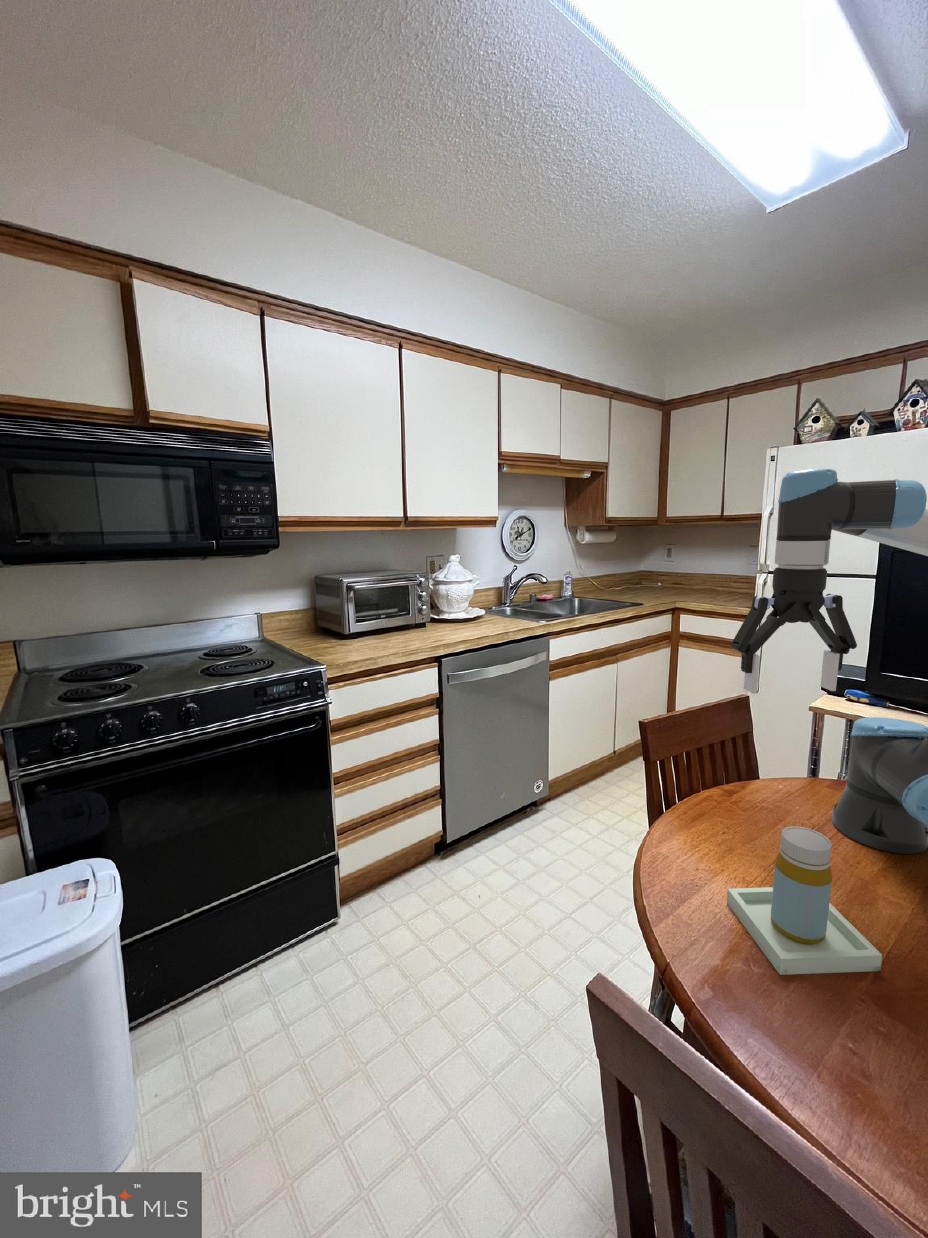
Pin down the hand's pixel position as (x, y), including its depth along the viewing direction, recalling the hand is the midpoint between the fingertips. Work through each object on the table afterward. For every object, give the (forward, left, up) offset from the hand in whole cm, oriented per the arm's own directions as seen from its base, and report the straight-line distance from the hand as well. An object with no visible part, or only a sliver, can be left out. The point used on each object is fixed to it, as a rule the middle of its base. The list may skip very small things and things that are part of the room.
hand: (789, 690), depth 89 cm
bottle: (+7, +17, -32) cm, 37 cm away
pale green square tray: (+7, +17, -33) cm, 38 cm away
